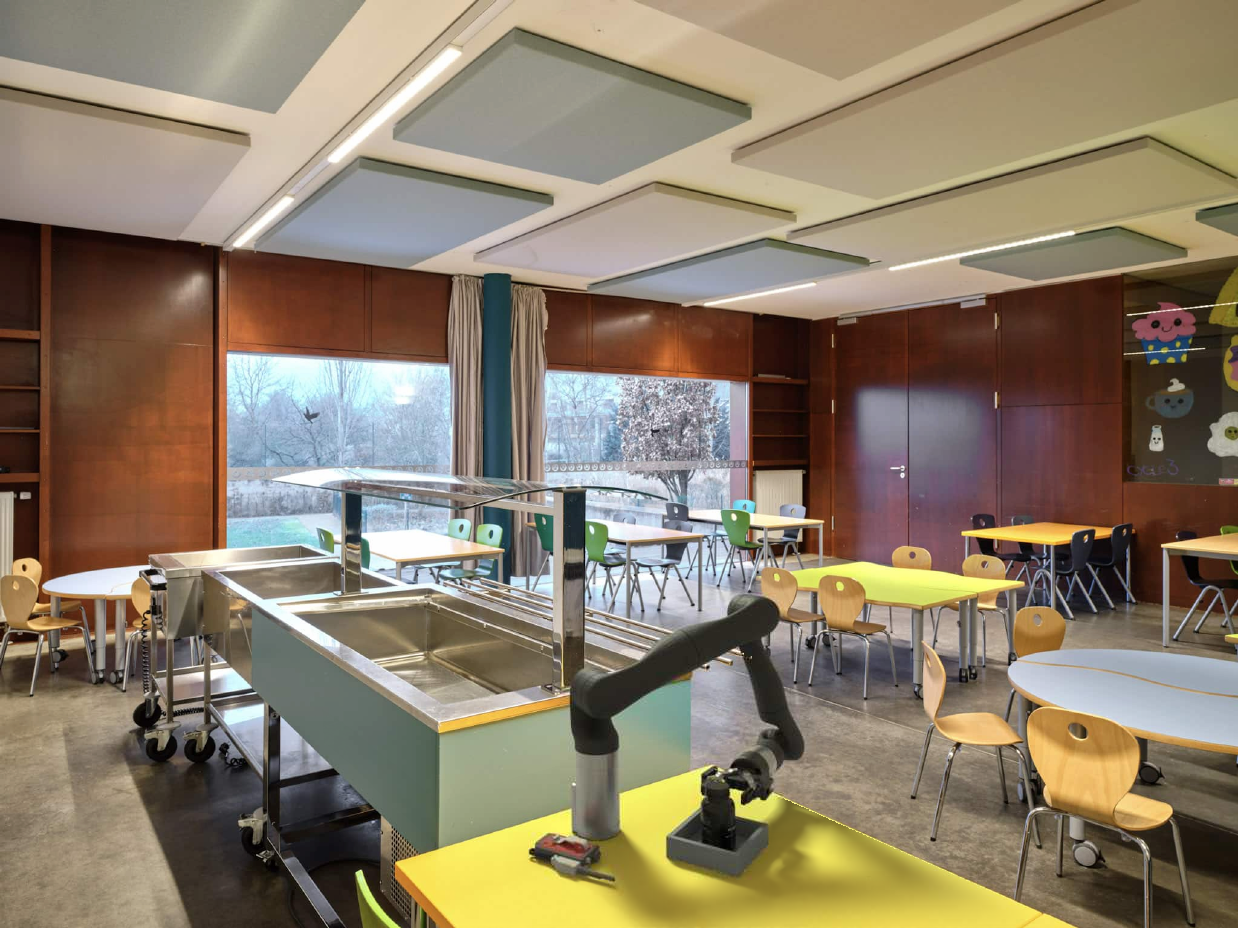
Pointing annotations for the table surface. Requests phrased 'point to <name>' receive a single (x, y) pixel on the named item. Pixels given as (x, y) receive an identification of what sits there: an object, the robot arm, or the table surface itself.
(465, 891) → the table surface
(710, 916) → the table surface
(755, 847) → the tray
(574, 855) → the walkie-talkie
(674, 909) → the table surface
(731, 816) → the supplement bottle
